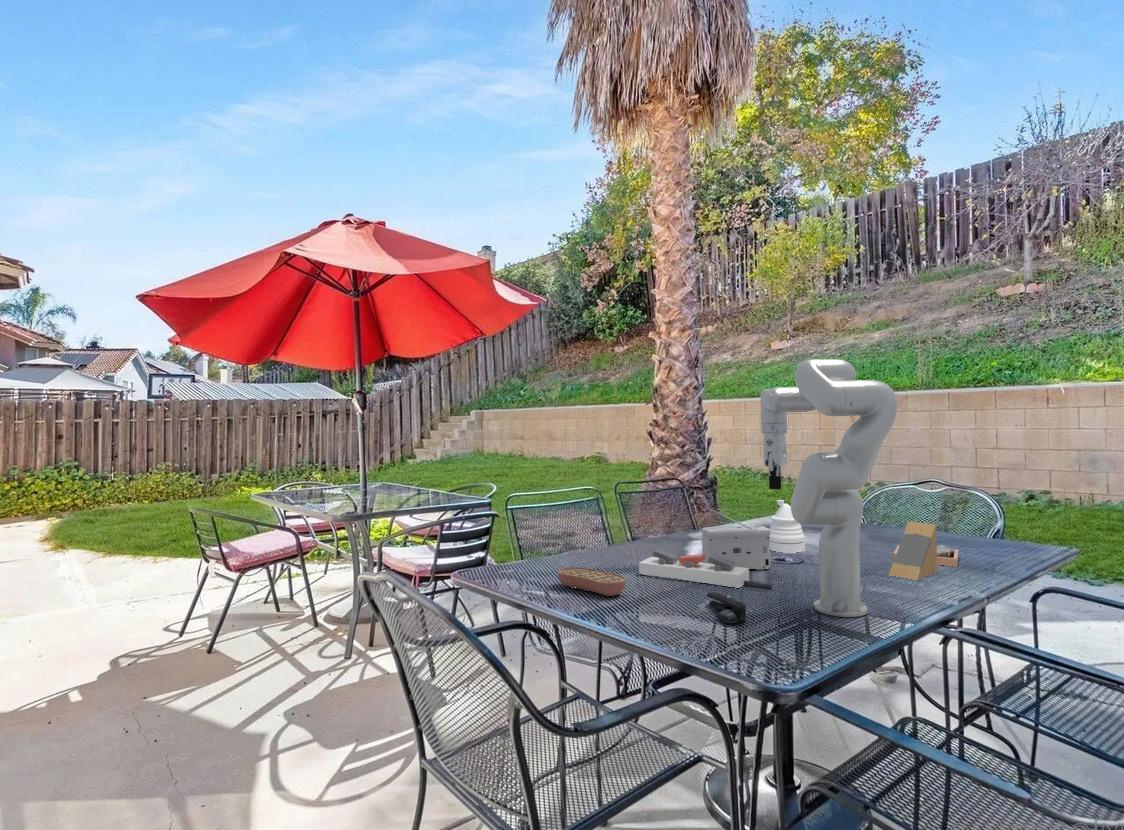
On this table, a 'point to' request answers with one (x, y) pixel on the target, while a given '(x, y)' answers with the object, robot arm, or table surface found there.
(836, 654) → the table surface
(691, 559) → the rocker red
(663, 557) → the rocker far
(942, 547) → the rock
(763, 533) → the stereo radio cassette player
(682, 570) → the power strip
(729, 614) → the can opener
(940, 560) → the tan wooden tray
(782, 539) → the honey pot
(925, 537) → the sandwich container
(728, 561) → the rocker near
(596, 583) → the brown long rounded block
